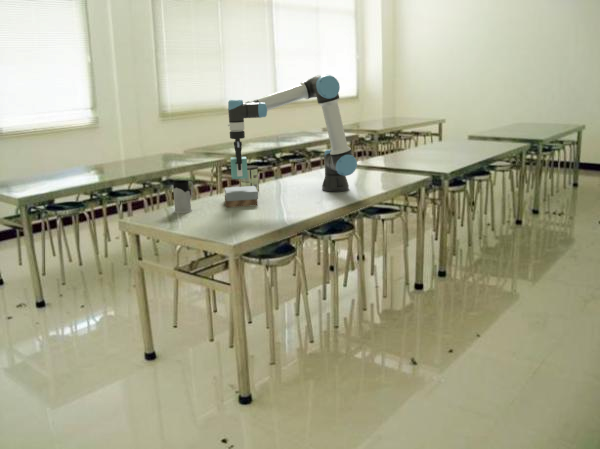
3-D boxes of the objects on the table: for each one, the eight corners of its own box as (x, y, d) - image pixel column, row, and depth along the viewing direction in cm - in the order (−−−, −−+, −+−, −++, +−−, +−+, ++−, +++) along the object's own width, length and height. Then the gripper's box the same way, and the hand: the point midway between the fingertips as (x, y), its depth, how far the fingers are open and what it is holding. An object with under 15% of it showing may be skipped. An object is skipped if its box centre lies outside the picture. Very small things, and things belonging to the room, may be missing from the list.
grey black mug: (170, 212, 292) (168, 182, 289) (187, 206, 305) (184, 177, 301) (185, 213, 289) (183, 183, 285) (201, 207, 302) (199, 178, 298)
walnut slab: (254, 200, 318) (254, 193, 317) (257, 206, 303) (257, 199, 302) (225, 202, 316) (224, 194, 315) (226, 208, 301) (225, 201, 300)
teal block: (246, 175, 310) (245, 156, 308) (247, 178, 303) (246, 158, 300) (231, 176, 309) (230, 157, 307) (232, 179, 302) (230, 159, 299)
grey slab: (255, 193, 317) (254, 185, 316) (258, 199, 302) (257, 191, 301) (225, 195, 315) (224, 187, 314) (226, 201, 299) (226, 193, 298)
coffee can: (245, 188, 348) (244, 165, 344) (261, 189, 344) (260, 165, 341) (238, 192, 338) (237, 167, 335) (254, 192, 335) (253, 168, 331)
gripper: (228, 129, 309) (231, 172, 315) (230, 132, 289) (232, 178, 295) (243, 128, 310) (245, 171, 316) (245, 132, 290) (247, 177, 296)
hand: (239, 174), depth 306 cm, fingers closed on teal block, 8 cm apart
